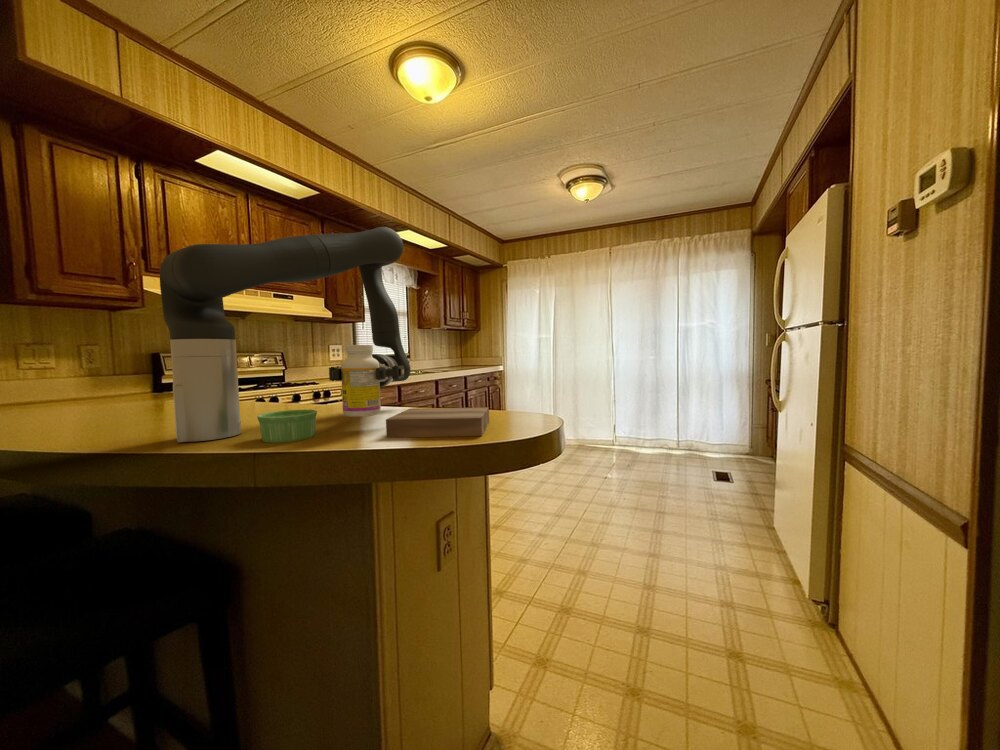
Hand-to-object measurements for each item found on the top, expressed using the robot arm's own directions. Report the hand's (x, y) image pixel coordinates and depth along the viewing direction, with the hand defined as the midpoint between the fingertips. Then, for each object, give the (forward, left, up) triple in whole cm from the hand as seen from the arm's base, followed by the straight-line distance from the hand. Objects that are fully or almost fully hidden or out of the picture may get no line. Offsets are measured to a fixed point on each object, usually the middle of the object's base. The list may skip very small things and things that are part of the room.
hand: (357, 374), depth 70 cm
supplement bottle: (+1, +2, -8) cm, 8 cm away
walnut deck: (+12, -9, -10) cm, 18 cm away
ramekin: (-10, +5, -11) cm, 16 cm away
